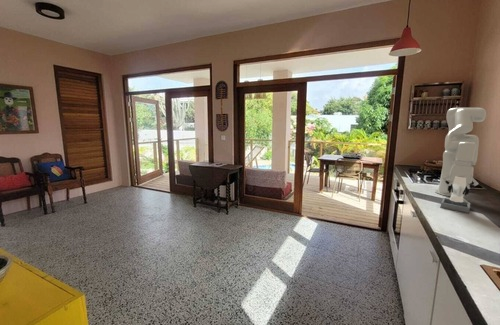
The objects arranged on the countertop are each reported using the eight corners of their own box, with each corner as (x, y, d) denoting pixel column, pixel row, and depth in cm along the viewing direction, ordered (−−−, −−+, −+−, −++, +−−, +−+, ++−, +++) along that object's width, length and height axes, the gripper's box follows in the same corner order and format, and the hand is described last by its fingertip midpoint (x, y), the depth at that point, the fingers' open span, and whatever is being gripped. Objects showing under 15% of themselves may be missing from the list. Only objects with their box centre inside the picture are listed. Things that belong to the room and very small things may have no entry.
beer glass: (458, 203, 134) (463, 177, 132) (445, 199, 141) (449, 175, 138) (467, 202, 136) (472, 177, 134) (454, 198, 143) (458, 174, 140)
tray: (442, 202, 149) (443, 197, 148) (469, 207, 140) (470, 202, 140) (440, 207, 139) (441, 202, 139) (468, 213, 131) (469, 208, 130)
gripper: (484, 165, 132) (477, 195, 135) (444, 160, 143) (439, 189, 146) (484, 166, 126) (477, 198, 129) (443, 162, 138) (438, 191, 141)
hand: (457, 193), depth 138 cm, fingers closed on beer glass, 6 cm apart
